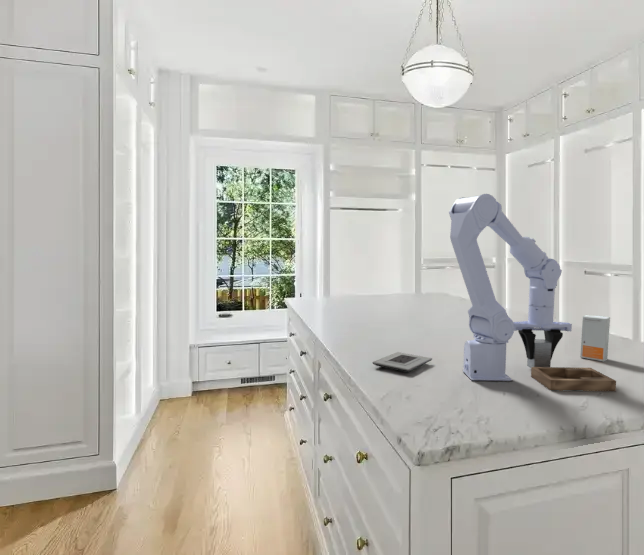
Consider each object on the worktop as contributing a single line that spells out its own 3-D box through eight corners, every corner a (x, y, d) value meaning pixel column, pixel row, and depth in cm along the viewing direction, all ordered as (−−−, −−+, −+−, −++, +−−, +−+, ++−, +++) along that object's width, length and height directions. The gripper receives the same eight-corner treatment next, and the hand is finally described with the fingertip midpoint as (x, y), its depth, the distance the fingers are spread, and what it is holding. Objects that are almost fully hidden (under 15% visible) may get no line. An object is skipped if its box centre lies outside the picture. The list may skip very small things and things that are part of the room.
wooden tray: (550, 390, 97) (550, 380, 96) (531, 376, 106) (531, 367, 106) (615, 391, 96) (616, 380, 96) (590, 377, 106) (590, 367, 106)
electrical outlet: (397, 359, 124) (397, 350, 124) (432, 365, 118) (432, 357, 117) (372, 369, 114) (372, 360, 114) (408, 377, 108) (408, 368, 107)
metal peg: (533, 370, 109) (535, 342, 109) (527, 365, 113) (528, 339, 113) (550, 370, 109) (551, 342, 109) (542, 365, 113) (544, 339, 112)
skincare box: (579, 358, 123) (581, 316, 122) (583, 355, 126) (585, 314, 125) (605, 362, 119) (607, 318, 118) (608, 359, 122) (610, 316, 121)
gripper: (518, 307, 106) (516, 362, 107) (579, 308, 106) (576, 363, 107) (507, 303, 113) (505, 355, 114) (564, 304, 113) (562, 355, 114)
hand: (538, 358), depth 111 cm, fingers closed on metal peg, 4 cm apart
